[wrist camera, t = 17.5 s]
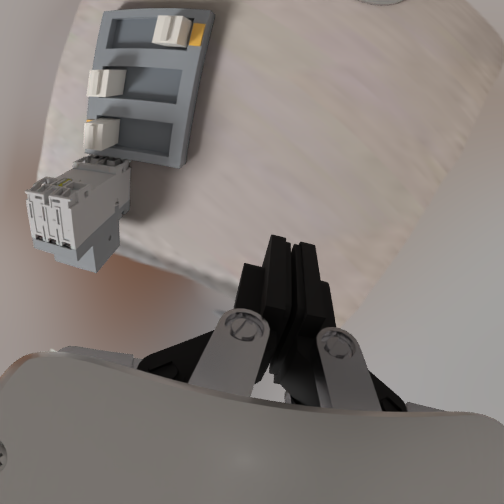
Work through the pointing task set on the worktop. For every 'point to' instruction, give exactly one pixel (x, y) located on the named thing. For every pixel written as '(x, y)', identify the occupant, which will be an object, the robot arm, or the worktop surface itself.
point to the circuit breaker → (81, 211)
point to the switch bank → (150, 84)
